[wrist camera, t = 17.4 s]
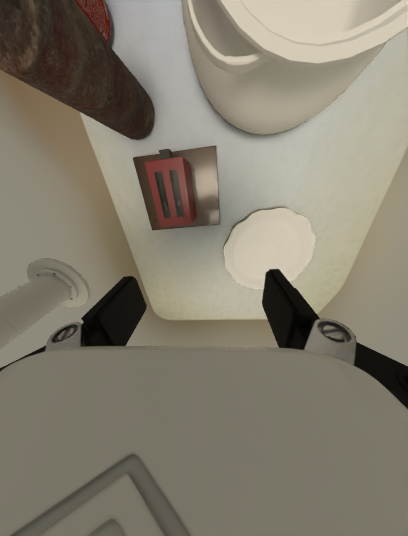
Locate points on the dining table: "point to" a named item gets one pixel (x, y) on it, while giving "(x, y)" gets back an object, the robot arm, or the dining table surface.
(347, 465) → the robot arm
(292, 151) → the dining table surface
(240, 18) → the pot
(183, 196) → the toaster
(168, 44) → the dining table surface
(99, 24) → the beverage can
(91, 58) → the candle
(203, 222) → the board
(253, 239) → the plate
